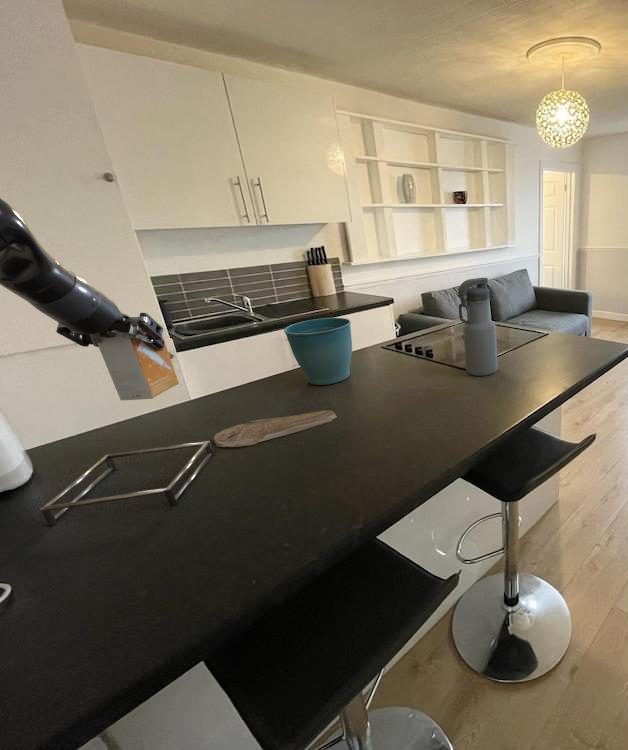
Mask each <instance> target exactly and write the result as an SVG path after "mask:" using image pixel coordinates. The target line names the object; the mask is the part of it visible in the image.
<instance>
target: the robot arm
mask: <svg viewBox="0 0 628 750" xmlns="http://www.w3.org/2000/svg"><path fill="white" fill-rule="evenodd" d="M0 286H2V287H4V288H5V289H7V290H8V291H10V292H11V293H13V294H15V295H16V296H17V297H19V298H20V299H23V300H24V301H27V303H29V304H30V305H31V306H32V307H34V309H36V310H37V311H39V312H40V313H42V314H43V315H45V316H47V317H49V319H52V320H54V321H55V322H57V326H56V333H57V334H59V335H60V336H62V337H64V338H66V339H67V340H70V341H71V342H73V343H75V344H77V345H79V346H81V347H84V348H87V347H89V346H90V345H93V347H96V348H99V347H98V344H97V343H102V338H101V337H106V338H111V337H117V336H121V337H124V338H127V339H131V340H137V339H138V340H142V341H145V342H147V343H148V344H149V345H151V346H152V347H153V348H155V349H156V350H157V351H160V350H163V348H164V344H166V341H165V339H164V338H163V339H164V340H163V339H162V336H163V331H164V327H163V326H162V325H161V324H159V323H158V322H157V321H156V320H155V319H154V318H153V317H152V316H151V315H149V314H148V313H146V312H140V313H139V316H130V315H128V314H126V313H123V312H121V311H120V308H119V307H118V306H117V304H116V303H115V302H114V301H113V300H112V299H110V298H109V297H108V296H106V295H105V294H104V293H103V292H101V291H100V290H99V289H98V288H97V287H95V286H94V285H92V284H91V283H90V282H89V281H87V280H86V279H84V278H83V277H82V276H80V275H78V274H76V273H75V272H73V271H72V270H70V269H69V268H67V267H66V266H65V265H64V264H62V263H61V262H60V261H58V260H57V259H56V258H54V256H52V255H51V254H50V253H49V252H48V251H47V250H46V249H45V248H44V247H43V246H42V244H41V243H40V242H39V241H38V239H37V238H36V236H35V235H34V233H33V232H32V230H31V228H30V227H29V226H28V224H27V223H26V222H25V220H24V219H23V218H22V216H21V215H20V214H19V213H18V211H16V210H15V208H14V207H12V206H11V205H10V204H9V203H8V202H7V201H5V200H4V199H2V198H1V197H0ZM131 327H133V333H132V334H130V333H129V332H130V328H131ZM141 331H143V332H146V336H143V335H141Z"/></svg>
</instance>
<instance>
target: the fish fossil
mask: <svg viewBox="0 0 628 750" xmlns="http://www.w3.org/2000/svg"><path fill="white" fill-rule="evenodd" d="M335 419H338V416H337V415H336V413H335V412H333V411H332V410H330V409H329V410H328V409H327V410H320V411H318V410H317V411H312V412H307V413H301V414H295V415H288V416H280V417H271V418H263V419H256V420H250V421H249V422H246V423H243V424H242V423H240V424H236V425H233V426H230V427H228V428H225V429H224V430H221V431H220V432H218V433H215V435H214V436H213V442H214V444H215V446H216V447H217V448H240V447H246V446H247V447H248V446H253V445H257V444H259V443H260V442H261V443H262V442H264V441H269V440H272V439H276V438H281V437H283V436H287V435H288V436H289V435H291V434H292V435H293V434H295V433H298V432H301V431H306V430H309V429H312V428H315V427H318V426H322V425H324V424H328V423H330V422H332V421H333V420H335Z"/></svg>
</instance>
